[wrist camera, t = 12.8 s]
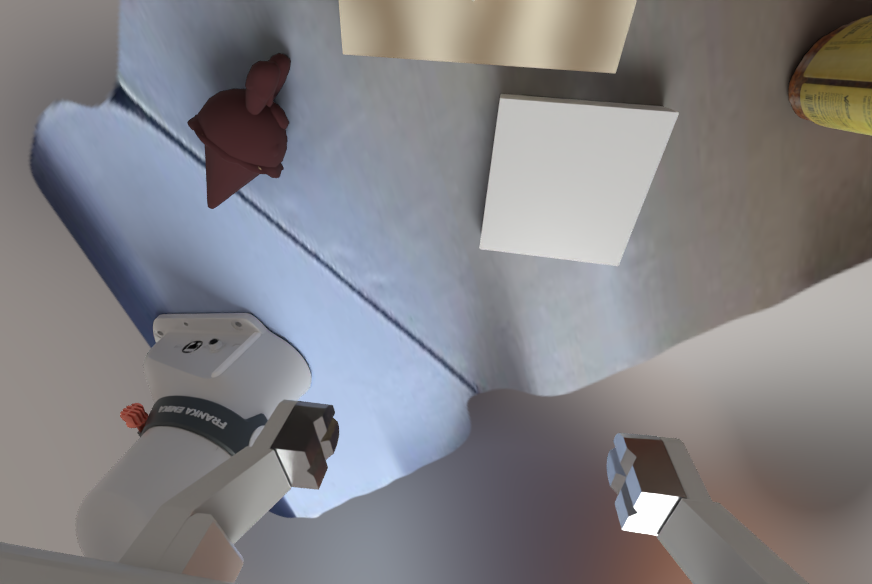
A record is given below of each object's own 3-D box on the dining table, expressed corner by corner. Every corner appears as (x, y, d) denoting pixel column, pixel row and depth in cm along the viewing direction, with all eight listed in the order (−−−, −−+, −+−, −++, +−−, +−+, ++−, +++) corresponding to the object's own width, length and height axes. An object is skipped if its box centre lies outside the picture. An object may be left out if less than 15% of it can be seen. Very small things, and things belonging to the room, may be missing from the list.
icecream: (238, 247, 33) (319, 103, 26) (145, 202, 29) (210, 22, 22) (260, 212, 38) (332, 84, 31) (183, 169, 35) (245, 16, 28)
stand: (481, 234, 35) (479, 248, 32) (500, 93, 28) (499, 98, 26) (610, 250, 34) (618, 266, 31) (663, 106, 27) (679, 112, 24)
